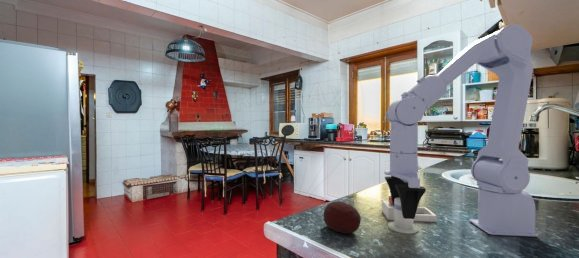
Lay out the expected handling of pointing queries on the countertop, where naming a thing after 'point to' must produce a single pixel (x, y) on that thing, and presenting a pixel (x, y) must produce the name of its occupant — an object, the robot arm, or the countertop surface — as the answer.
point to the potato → (341, 217)
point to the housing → (425, 216)
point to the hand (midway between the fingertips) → (403, 212)
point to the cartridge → (401, 217)
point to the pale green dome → (412, 231)
